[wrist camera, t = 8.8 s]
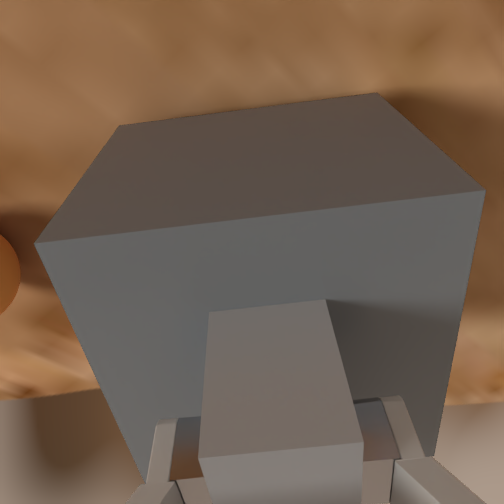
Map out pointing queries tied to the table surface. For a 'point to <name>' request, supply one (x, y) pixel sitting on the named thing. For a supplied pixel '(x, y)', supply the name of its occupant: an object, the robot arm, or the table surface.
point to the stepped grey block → (268, 286)
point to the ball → (8, 274)
